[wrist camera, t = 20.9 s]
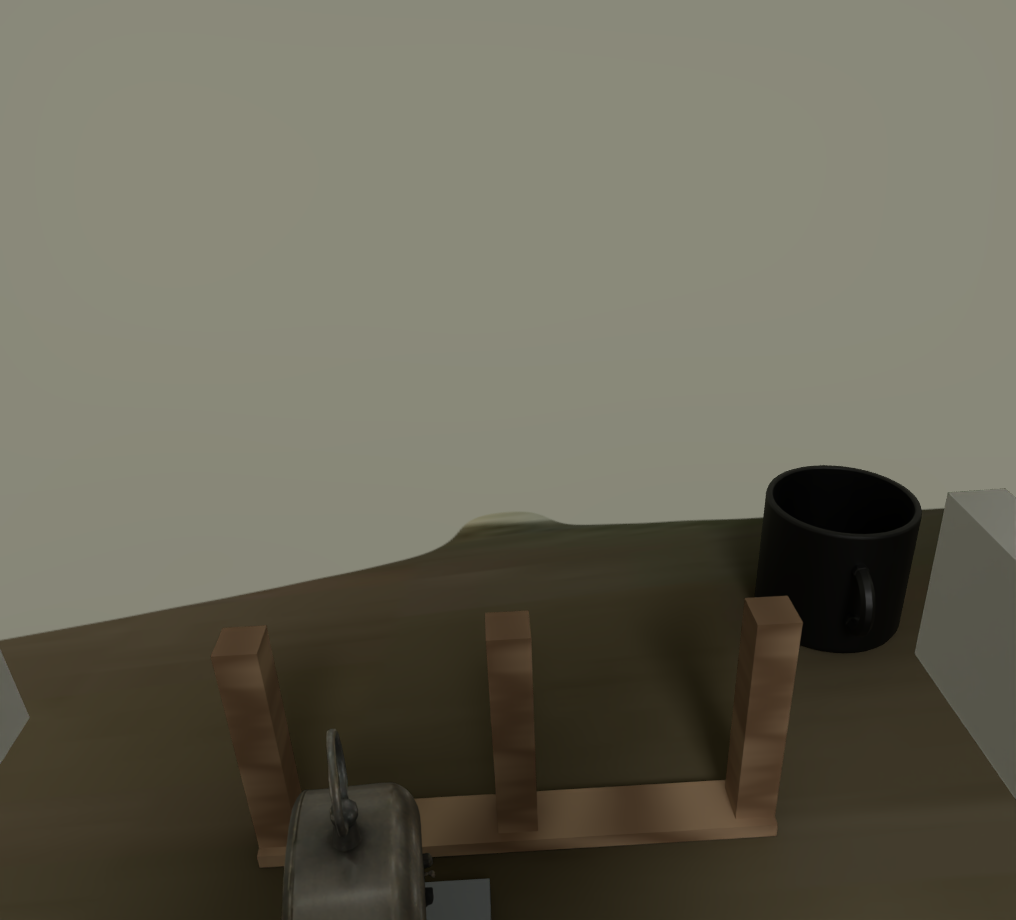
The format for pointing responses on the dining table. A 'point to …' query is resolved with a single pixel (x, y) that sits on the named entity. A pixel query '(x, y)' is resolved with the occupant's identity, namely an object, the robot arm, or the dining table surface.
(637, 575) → the dining table surface
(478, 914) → the pad
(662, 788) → the slalom posts
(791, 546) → the mug
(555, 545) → the dining table surface
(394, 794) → the alarm clock
